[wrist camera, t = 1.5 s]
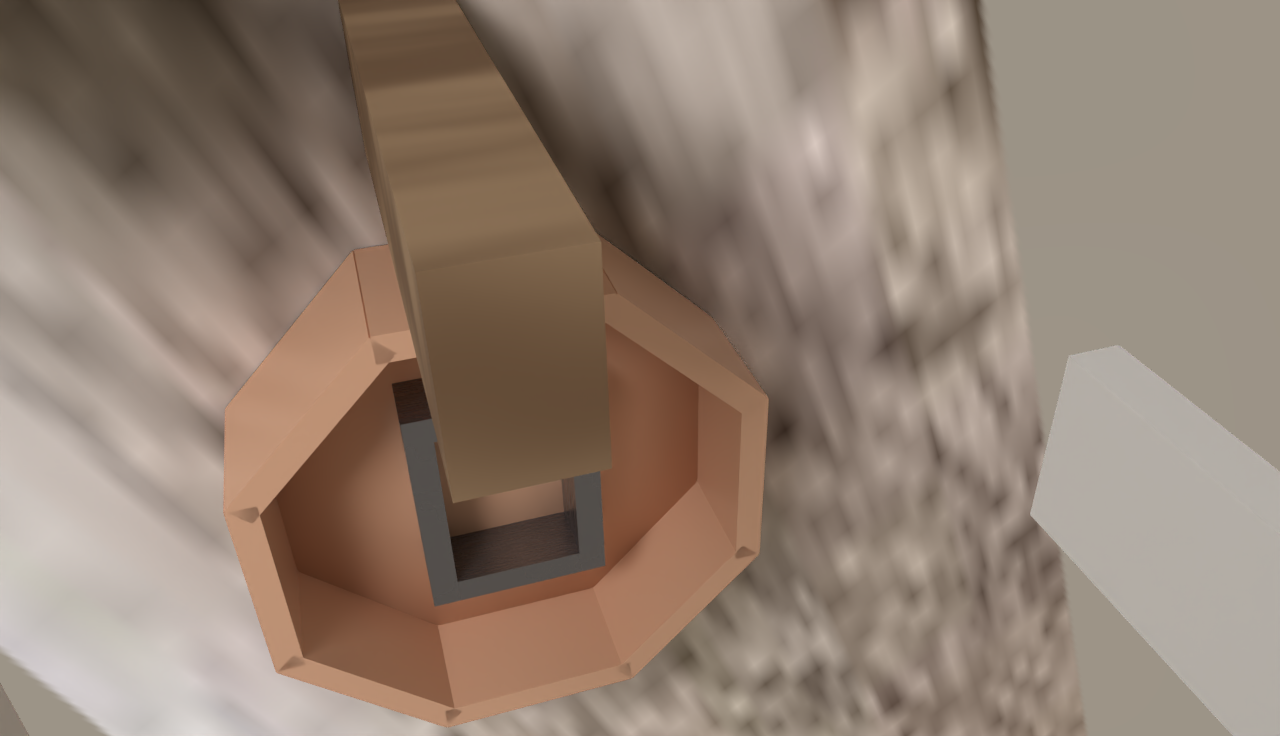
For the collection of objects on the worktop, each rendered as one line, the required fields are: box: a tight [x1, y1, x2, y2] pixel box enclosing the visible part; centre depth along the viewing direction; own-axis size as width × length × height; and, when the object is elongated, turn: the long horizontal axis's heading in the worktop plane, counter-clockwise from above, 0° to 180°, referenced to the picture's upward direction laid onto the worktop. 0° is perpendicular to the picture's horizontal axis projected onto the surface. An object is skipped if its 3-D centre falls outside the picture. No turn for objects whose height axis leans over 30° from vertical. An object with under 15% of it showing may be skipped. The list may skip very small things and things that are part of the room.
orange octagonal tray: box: [223, 233, 769, 727], centre depth 31 cm, size 15×15×4 cm
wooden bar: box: [338, 0, 612, 503], centre depth 21 cm, size 4×2×14 cm, turn 1°
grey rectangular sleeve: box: [392, 378, 605, 607], centre depth 32 cm, size 7×5×2 cm
